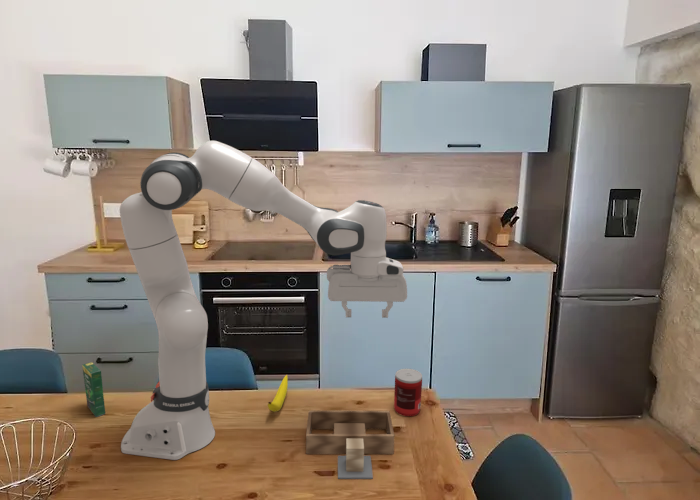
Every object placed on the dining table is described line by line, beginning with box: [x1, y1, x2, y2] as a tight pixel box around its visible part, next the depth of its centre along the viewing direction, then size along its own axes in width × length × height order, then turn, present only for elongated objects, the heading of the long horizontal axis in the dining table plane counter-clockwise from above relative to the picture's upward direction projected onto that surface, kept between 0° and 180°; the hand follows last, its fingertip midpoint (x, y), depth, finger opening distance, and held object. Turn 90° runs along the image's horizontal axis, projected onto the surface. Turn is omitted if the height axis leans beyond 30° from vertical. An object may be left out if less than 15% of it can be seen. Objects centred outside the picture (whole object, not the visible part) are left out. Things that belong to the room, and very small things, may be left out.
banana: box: [267, 374, 289, 413], centre depth 144 cm, size 3×19×6 cm, turn 173°
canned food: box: [393, 368, 423, 417], centre depth 143 cm, size 8×8×11 cm
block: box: [345, 438, 365, 472], centre depth 118 cm, size 4×4×6 cm
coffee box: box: [81, 361, 106, 418], centre depth 139 cm, size 8×3×13 cm, turn 43°
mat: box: [337, 455, 374, 480], centre depth 118 cm, size 8×8×1 cm
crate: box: [305, 410, 395, 455], centre depth 129 cm, size 22×12×5 cm, turn 92°
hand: (366, 316), depth 129 cm, fingers open, 8 cm apart
